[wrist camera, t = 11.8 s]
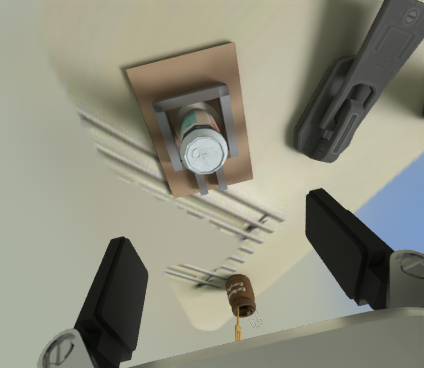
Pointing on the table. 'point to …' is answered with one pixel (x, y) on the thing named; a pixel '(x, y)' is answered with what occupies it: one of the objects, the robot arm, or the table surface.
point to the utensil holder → (240, 299)
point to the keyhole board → (188, 100)
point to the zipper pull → (359, 81)
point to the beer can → (201, 143)
